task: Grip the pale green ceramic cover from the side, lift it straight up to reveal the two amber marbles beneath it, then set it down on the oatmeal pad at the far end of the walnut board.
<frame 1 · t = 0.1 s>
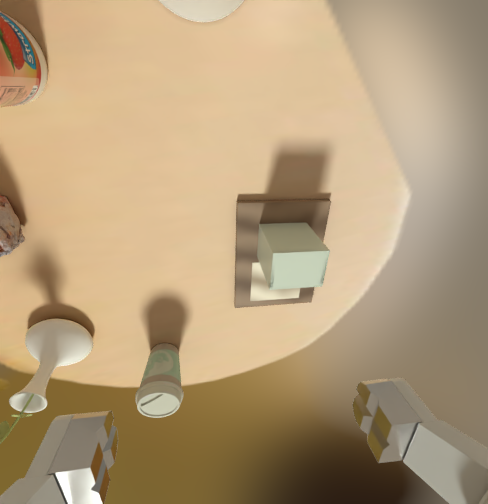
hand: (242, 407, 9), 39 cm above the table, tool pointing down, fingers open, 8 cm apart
coffee cup: (164, 351, 62), on the table
fruit juice: (6, 60, 34), on the table
walnut board: (277, 256, 53), on the table
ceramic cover: (281, 239, 51), point 1 cm above the table, touching walnut board
flower in vase: (60, 336, 55), on the table
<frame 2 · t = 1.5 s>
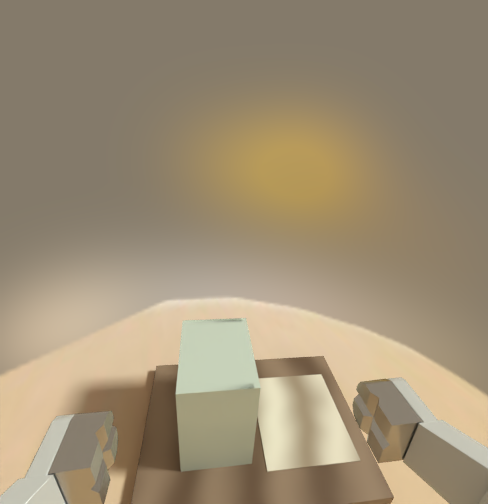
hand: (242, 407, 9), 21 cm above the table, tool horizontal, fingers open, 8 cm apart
walnut board: (252, 425, 30), on the table
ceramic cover: (215, 422, 29), point 1 cm above the table, touching walnut board
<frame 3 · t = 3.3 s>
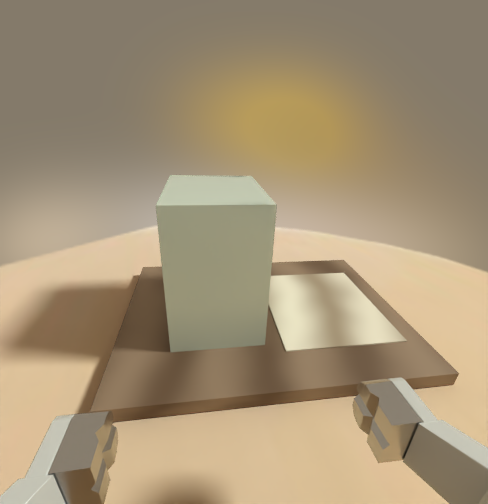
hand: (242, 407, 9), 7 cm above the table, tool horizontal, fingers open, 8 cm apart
walnut board: (263, 317, 24), on the table
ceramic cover: (215, 310, 23), point 1 cm above the table, touching walnut board
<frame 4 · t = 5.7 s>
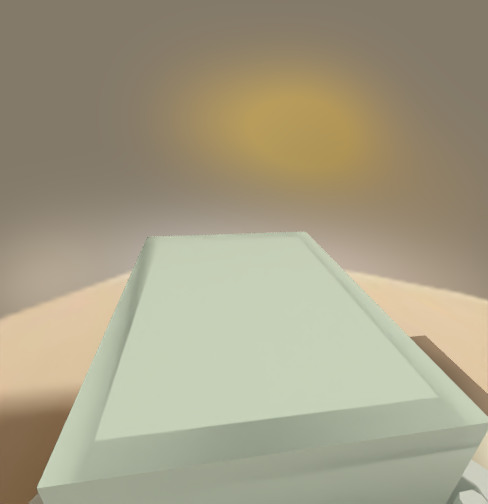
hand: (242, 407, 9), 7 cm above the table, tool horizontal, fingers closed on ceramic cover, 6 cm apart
walnut board: (327, 493, 13), on the table
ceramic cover: (239, 495, 12), point 1 cm above the table, touching gripper, walnut board
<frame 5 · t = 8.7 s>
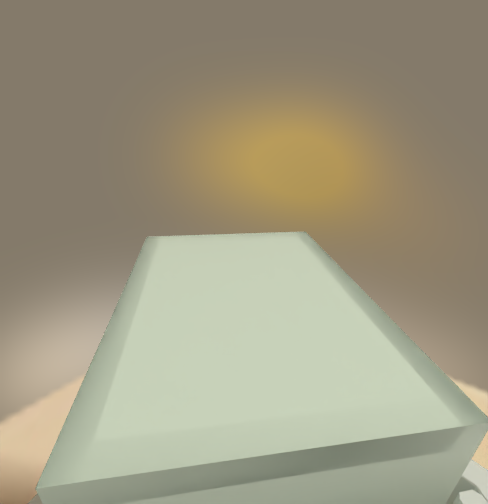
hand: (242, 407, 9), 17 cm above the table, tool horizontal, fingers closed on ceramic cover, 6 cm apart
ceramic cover: (239, 495, 12), point 11 cm above the table, touching gripper
when the fingers open (8 cm above the table, at t = 11.6 s): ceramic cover drops 1 cm, resting on walnut board.
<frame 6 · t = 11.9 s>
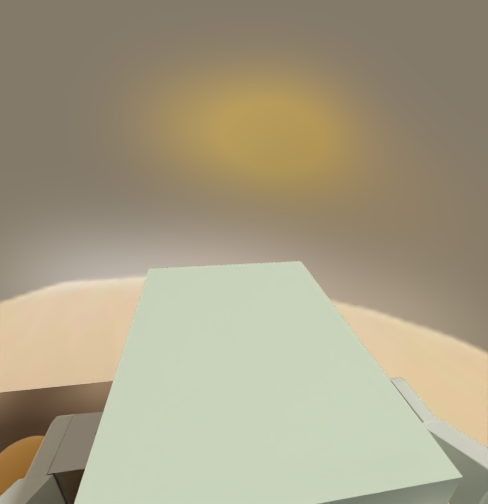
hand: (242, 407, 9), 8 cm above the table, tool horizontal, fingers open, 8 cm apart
amber marble b: (35, 496, 13), point 1 cm above the table, touching walnut board
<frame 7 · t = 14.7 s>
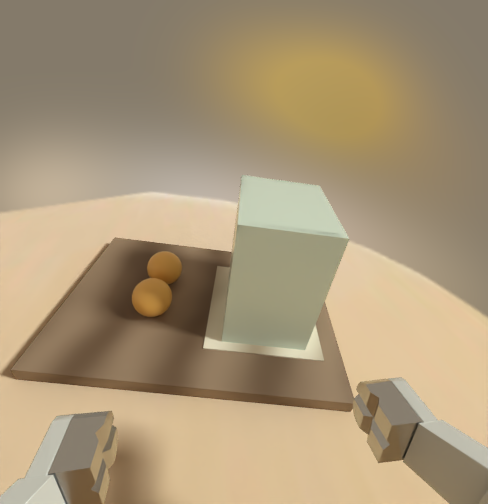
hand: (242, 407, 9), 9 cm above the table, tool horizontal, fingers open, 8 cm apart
amber marble a: (153, 310, 23), point 1 cm above the table, touching walnut board
amber marble b: (165, 280, 26), point 1 cm above the table, touching walnut board
walnut board: (205, 308, 25), on the table
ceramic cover: (261, 306, 25), point 1 cm above the table, touching walnut board
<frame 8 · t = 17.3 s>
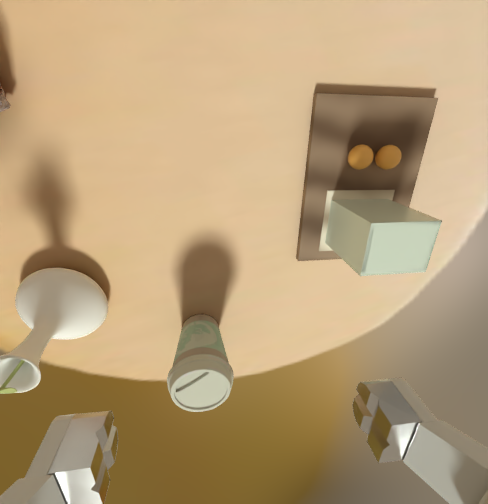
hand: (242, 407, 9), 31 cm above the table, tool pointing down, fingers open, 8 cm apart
amber marble a: (354, 155, 37), point 1 cm above the table, touching walnut board
coffee cup: (200, 327, 46), on the table
amber marble b: (381, 156, 38), point 1 cm above the table, touching walnut board
walnut board: (358, 185, 40), on the table
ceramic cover: (355, 221, 41), point 1 cm above the table, touching walnut board
flower in vase: (64, 299, 41), on the table
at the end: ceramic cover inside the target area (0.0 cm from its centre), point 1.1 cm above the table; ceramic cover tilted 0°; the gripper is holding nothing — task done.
